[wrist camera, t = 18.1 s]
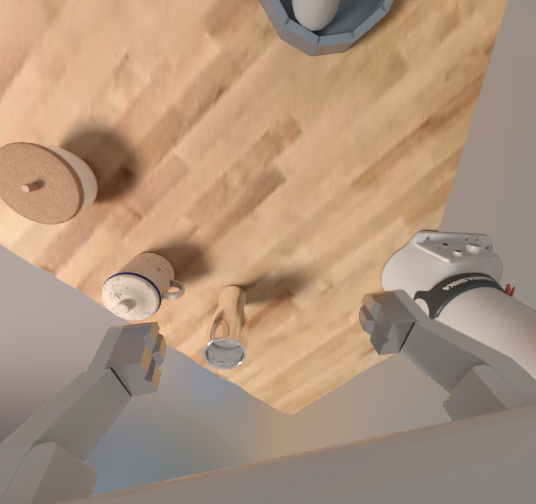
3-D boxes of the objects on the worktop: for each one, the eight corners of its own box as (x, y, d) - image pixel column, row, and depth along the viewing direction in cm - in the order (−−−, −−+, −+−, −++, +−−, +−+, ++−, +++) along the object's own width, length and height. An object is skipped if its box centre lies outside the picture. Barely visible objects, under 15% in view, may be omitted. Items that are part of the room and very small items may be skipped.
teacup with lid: (128, 288, 47) (92, 328, 36) (127, 247, 44) (86, 279, 33) (189, 296, 49) (171, 337, 38) (192, 257, 45) (174, 290, 35)
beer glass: (231, 277, 47) (222, 329, 34) (255, 296, 50) (256, 353, 36) (209, 297, 49) (192, 355, 36) (233, 315, 52) (226, 376, 38)
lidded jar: (88, 223, 41) (46, 243, 33) (26, 178, 38) (-40, 187, 29) (123, 180, 39) (87, 189, 30) (60, 127, 35) (-2, 120, 27)
